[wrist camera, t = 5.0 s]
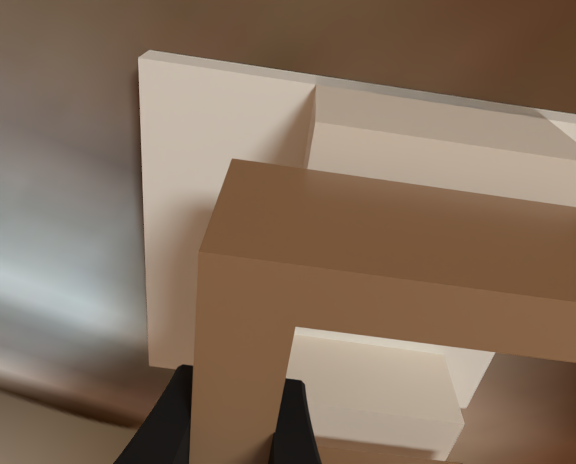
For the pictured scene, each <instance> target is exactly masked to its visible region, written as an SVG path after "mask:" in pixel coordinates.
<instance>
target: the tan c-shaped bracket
mask: <svg viewBox="0 0 576 464" xmlns="http://www.w3.org/2000/svg"><path fill="white" fill-rule="evenodd" d="M295 327H302V328H310V329H317V330H325V331H333V332H341V333H348V334H356V335H364V336H372V337H379V338H387V339H395V340H403V341H411V342H418V343H426V344H434V345H442V346H449V347H457V348H465V349H473V350H480V351H488V352H496V353H504V354H511V355H519V356H527V357H535V358H542V359H550V360H558V361H566V362H573V363H576V207H572V206H565V205H558V204H551V203H544V202H537V201H529V200H522V199H515V198H508V197H501V196H494V195H487V194H480V193H473V192H466V191H459V190H452V189H445V188H438V187H431V186H424V185H417V184H410V183H403V182H395V181H388V180H381V179H374V178H367V177H360V176H353V175H346V174H339V173H332V172H325V171H318V170H311V169H304V168H297V167H290V166H283V165H276V164H269V163H262V162H254V161H247V160H240V159H233V158H232V160H231V162H230V165H229V168H228V171H227V174H226V176H225V179H224V182H223V185H222V187H221V190H220V193H219V196H218V199H217V201H216V204H215V207H214V210H213V212H212V215H211V218H210V221H209V224H208V226H207V229H206V232H205V235H204V237H203V240H202V243H201V246H200V249H199V251H198V272H197V294H196V317H195V340H194V362H193V385H192V407H191V430H190V452H189V464H268V460H269V455H270V449H271V444H272V439H273V433H274V432H275V430H276V425H277V420H278V415H279V409H280V404H281V399H282V394H283V389H284V384H285V378H286V373H287V368H288V363H289V358H290V353H291V347H292V342H293V337H294V332H295ZM317 448H318V452H319V455H320V459H321V462H322V464H463V463H456V462H447V461H439V460H431V459H422V458H414V457H406V456H397V455H389V454H381V453H372V452H364V451H356V450H347V449H339V448H330V447H322V446H317Z"/></svg>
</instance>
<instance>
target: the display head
mask: <svg viewBox="0 0 576 464" xmlns="http://www.w3.org/2000/svg"><path fill="white" fill-rule="evenodd" d="M138 68H139V96H140V125H141V153H142V182H143V210H144V239H145V267H146V296H147V324H148V353H149V366H154V367H161V368H169V369H177V367H179V366H180V365H182V364H185V365H192V366H193V362H194V340H195V317H196V294H197V272H198V251H199V249H200V246H201V243H202V240H203V237H204V235H205V232H206V229H207V226H208V224H209V221H210V218H211V215H212V212H213V210H214V207H215V204H216V201H217V199H218V196H219V193H220V190H221V187H222V185H223V182H224V179H225V176H226V174H227V171H228V168H229V165H230V162H231V160H232V158H233V159H240V160H247V161H254V162H262V163H269V164H276V165H283V166H290V167H297V168H304V169H311V170H318V171H325V172H332V173H339V174H346V175H353V176H360V177H367V178H374V179H381V180H388V181H395V182H403V183H410V184H417V185H424V186H431V187H438V188H445V189H452V190H459V191H466V192H473V193H480V194H487V195H494V196H501V197H508V198H515V199H522V200H529V201H537V202H544V203H551V204H558V205H565V206H572V207H576V114H569V113H563V112H556V111H550V110H543V109H536V108H530V107H523V106H517V105H510V104H503V103H497V102H490V101H483V100H477V99H470V98H464V97H457V96H450V95H444V94H437V93H431V92H424V91H417V90H411V89H404V88H397V87H391V86H384V85H378V84H371V83H364V82H358V81H351V80H345V79H338V78H331V77H325V76H318V75H311V74H305V73H298V72H292V71H285V70H278V69H272V68H265V67H259V66H252V65H245V64H239V63H232V62H225V61H219V60H212V59H206V58H199V57H192V56H186V55H179V54H173V53H166V52H159V51H153V50H149V51H147V52H146V53H144V54H143V55H141V56H140V57H139V58H138ZM494 354H495V352H488V351H480V350H473V349H465V348H457V347H449V346H442V345H434V344H426V343H418V342H411V341H403V340H395V339H387V338H379V337H372V336H364V335H356V334H348V333H341V332H333V331H325V330H317V329H310V328H302V327H295V332H294V337H293V342H292V347H291V353H290V358H289V363H288V368H287V373H286V378H289V379H296V380H302V382H303V383H304V384H305V388H306V397H307V403H308V409H309V414H310V419H311V424H312V428H313V432H314V436H315V441H316V444H317V446H322V447H330V448H339V449H347V450H356V451H364V452H372V453H381V454H389V455H397V456H406V457H414V458H422V459H431V460H439V461H445V460H446V459H447V457H448V455H449V453H450V451H451V449H452V447H453V446H454V444H455V442H456V440H457V438H458V436H459V434H460V433H461V431H462V429H463V427H464V425H465V423H464V420H463V417H462V413H461V410H460V408H467V406H468V404H469V402H470V400H471V398H472V396H473V394H474V392H475V390H476V388H477V387H478V385H479V383H480V381H481V379H482V377H483V375H484V373H485V371H486V369H487V367H488V365H489V364H490V362H491V360H492V358H493V356H494Z"/></svg>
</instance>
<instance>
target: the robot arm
mask: <svg viewBox="0 0 576 464" xmlns="http://www.w3.org/2000/svg"><path fill="white" fill-rule="evenodd" d="M192 385H193V366H192V365H185V364H182V365H180V366H179V367H177V369H176V371H175V373H174V375H173V377H172V379H171V380H170V382H169V384H168V386H167V387H166V389H165V391H164V392H163V394H162V396H161V397H160V399H159V400H158V402H157V403H156V405H155V406H154V408H153V409H152V411H151V412H150V414H149V416H148V417H147V418H146V420H145V421H144V423H143V424H142V425H141V427H140V428H139V430H138V431H137V432H136V434H135V435H134V437H133V438H132V439H131V441H130V442H129V444H128V445H127V446H126V448H125V449H124V450H123V452H122V453H121V455H120V456H119V457H118V458H117V460H116V461H115V462H114V463H113V464H189V452H190V430H191V407H192ZM268 464H322V462H321V459H320V455H319V452H318V448H317V444H316V441H315V436H314V432H313V428H312V424H311V419H310V414H309V409H308V403H307V397H306V388H305V384H304V383H303V382H302V380H296V379H289V378H285V384H284V389H283V394H282V399H281V404H280V409H279V415H278V420H277V425H276V430H275V432H274V433H273V439H272V444H271V449H270V455H269V460H268Z"/></svg>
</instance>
